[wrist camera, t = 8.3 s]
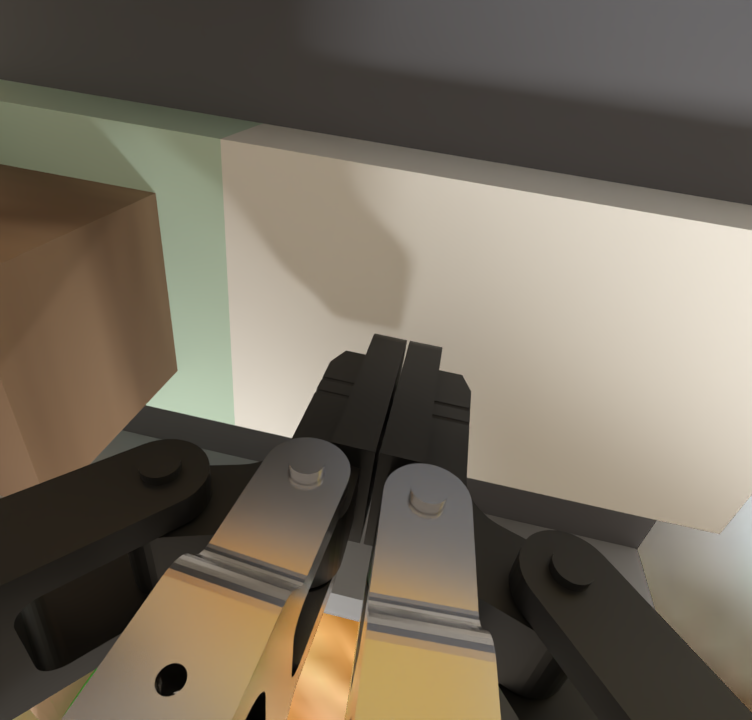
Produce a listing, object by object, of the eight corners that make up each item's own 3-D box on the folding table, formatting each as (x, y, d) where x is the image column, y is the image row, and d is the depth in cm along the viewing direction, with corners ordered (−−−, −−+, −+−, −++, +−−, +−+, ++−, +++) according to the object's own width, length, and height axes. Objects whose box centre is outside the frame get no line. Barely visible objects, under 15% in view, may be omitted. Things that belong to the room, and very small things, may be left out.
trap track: (1033, -75, 9) (1759, -232, 4) (620, 554, 19) (667, 736, 14) (-84, -204, 11) (-585, -420, 6) (89, 431, 21) (-35, 553, 16)
